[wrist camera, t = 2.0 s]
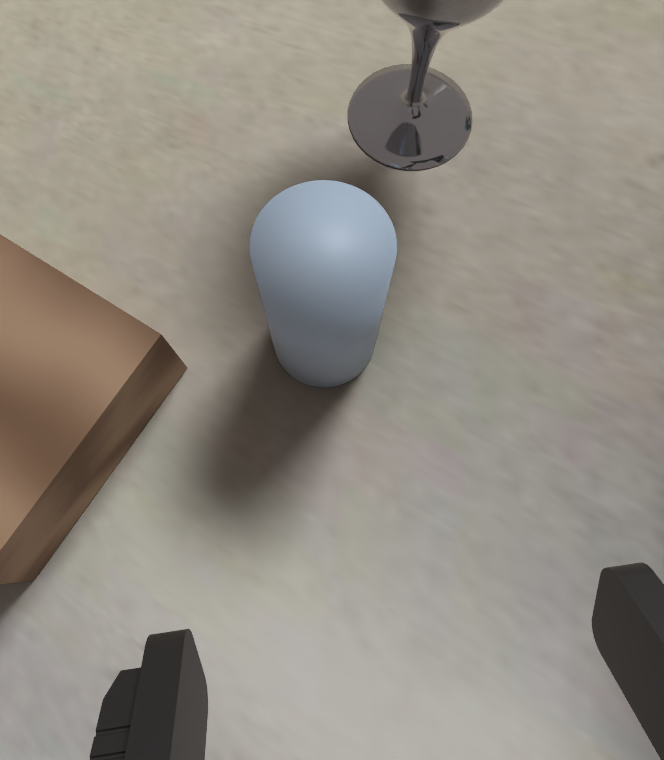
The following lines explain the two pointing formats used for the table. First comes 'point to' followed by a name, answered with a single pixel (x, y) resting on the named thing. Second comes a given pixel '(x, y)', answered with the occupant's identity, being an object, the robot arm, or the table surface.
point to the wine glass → (416, 92)
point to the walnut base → (65, 402)
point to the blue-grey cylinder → (323, 277)
